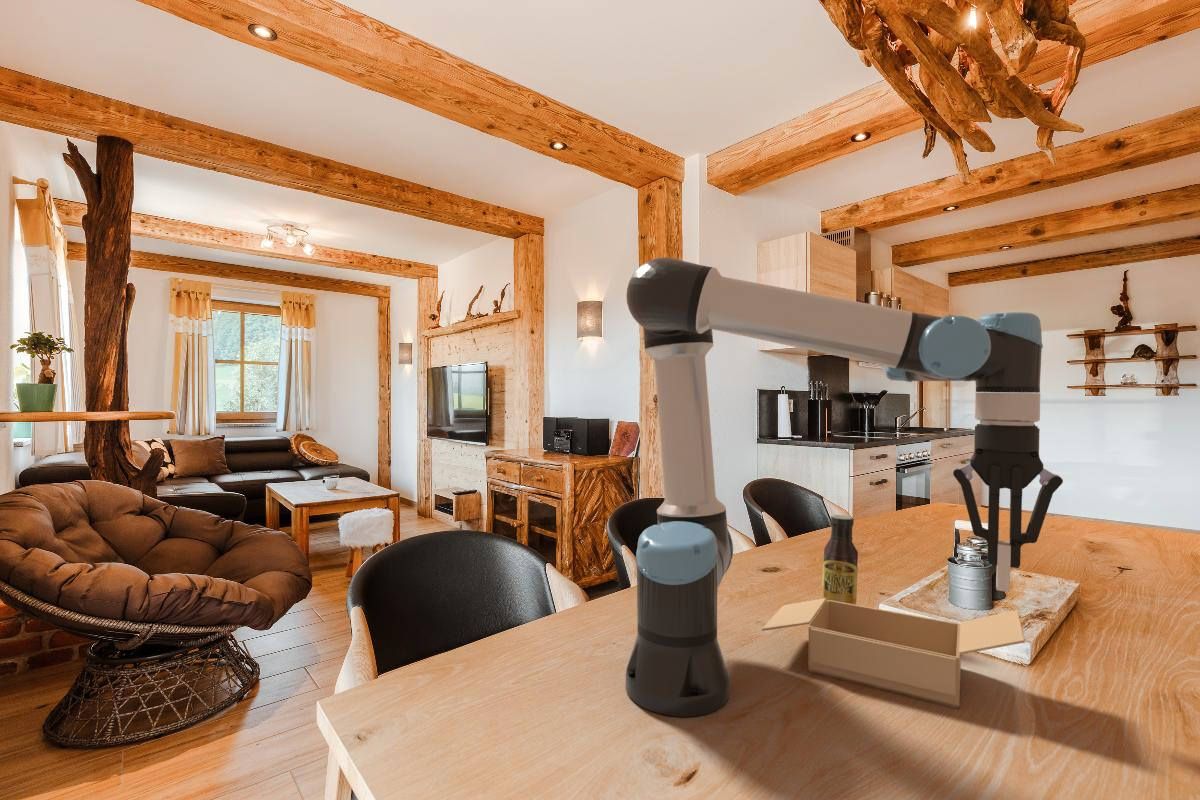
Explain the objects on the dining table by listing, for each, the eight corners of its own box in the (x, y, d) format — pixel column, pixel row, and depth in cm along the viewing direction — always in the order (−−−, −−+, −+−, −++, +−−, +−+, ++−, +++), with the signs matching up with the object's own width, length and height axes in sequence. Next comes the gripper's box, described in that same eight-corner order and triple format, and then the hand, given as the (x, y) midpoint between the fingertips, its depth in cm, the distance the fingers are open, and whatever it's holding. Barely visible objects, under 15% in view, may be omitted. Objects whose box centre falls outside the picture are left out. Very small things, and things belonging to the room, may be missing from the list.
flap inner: (809, 621, 91) (761, 629, 95) (809, 623, 90) (762, 630, 95) (826, 598, 101) (782, 605, 105) (826, 599, 101) (783, 606, 105)
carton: (959, 710, 79) (959, 659, 79) (807, 672, 90) (807, 627, 90) (960, 667, 91) (960, 623, 91) (827, 638, 102) (827, 599, 102)
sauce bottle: (819, 621, 110) (819, 517, 110) (823, 610, 115) (823, 511, 115) (856, 628, 107) (856, 521, 107) (858, 616, 112) (859, 514, 112)
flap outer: (960, 654, 80) (1025, 642, 76) (958, 652, 80) (1023, 640, 76) (961, 624, 90) (1018, 611, 86) (960, 622, 90) (1017, 609, 86)
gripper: (1061, 424, 81) (1057, 590, 82) (953, 420, 88) (950, 573, 89) (1069, 426, 75) (1064, 606, 75) (951, 422, 82) (948, 587, 82)
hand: (1002, 588), depth 82 cm, fingers closed
